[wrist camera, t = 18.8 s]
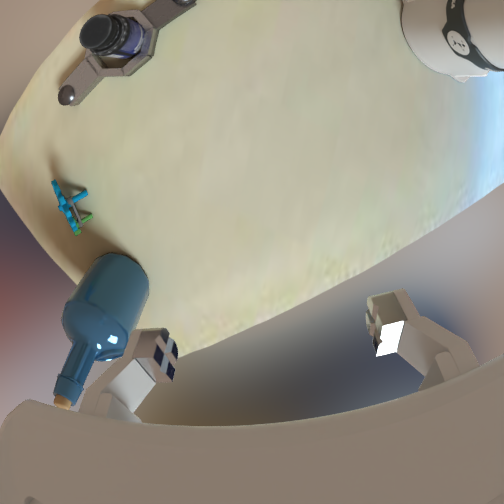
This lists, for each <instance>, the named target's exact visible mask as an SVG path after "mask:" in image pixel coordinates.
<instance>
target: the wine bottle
mask: <svg viewBox="0 0 504 504" xmlns="http://www.w3.org/2000/svg"><path fill="white" fill-rule="evenodd" d="M148 296H149V280H148V277H147V276H146V274H145V273H144V271H143V269H142V268H141V266H140V265H139V264H137V263H136V262H134V261H133V260H132V259H130V258H129V257H127V256H125V255H120V254H115V253H109V254H107V255H104V256H101V257H99V258H96V260H95V261H94V262H93V264H92V265H91V267H90V268H89V269H88V271H87V272H86V274H85V275H84V277H83V278H82V279H81V281H80V282H79V284H78V285H77V287H76V288H75V290H74V291H73V293H72V294H71V296H70V297H69V299H68V301H67V302H66V304H65V307H64V309H63V312H62V316H61V321H62V325H63V328H64V331H65V333H66V336H67V338H68V339H69V340H70V341H71V342H72V348H71V349H70V352H69V354H68V357H67V359H66V362H65V364H64V366H63V368H62V371H61V374H58V376H57V381H56V385H55V388H54V392H53V394H54V396H55V399H54V404H55V405H56V406H57V407H58V408H62V409H66V410H69V409H70V406H74V405H75V404H76V402H77V400H78V398H79V396H80V394H81V392H82V391H83V390H84V389H83V385H84V383H85V380H86V378H87V376H88V373H89V371H90V369H91V367H92V365H93V363H94V361H108V360H112V359H115V358H118V357H122V356H123V354H124V351H125V348H126V346H127V343H128V340H129V338H130V335H131V332H132V331H133V330H134V329H136V326H137V324H138V321H139V319H140V316H141V313H142V311H143V308H144V306H145V303H146V301H147V299H148Z"/></svg>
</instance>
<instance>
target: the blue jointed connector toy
mask: <svg viewBox="0 0 504 504" xmlns="http://www.w3.org/2000/svg"><path fill="white" fill-rule="evenodd" d="M51 182H52V186H53V189H54V191H55V194H56V196H57V199H58V201H59V206H58V208H59V210H60V211H63V213H64V214H65V216H66V218H67V220H68V222H69V224H70V226H71V228H72V230H73V232H74V234H75V236H77V235H78V234H80V233H82V232H81V230H80V228H81V227H82V226H83V223H84V222H86V221H88V220H89V219H91V218H92V217H93V216H92V214H90V215H88V216H87V217H85V218H83V219H82V220H81V219H80V217H79V215H78V212H77V210H76V208H75V205H74V203H75V202H77V201H78V200H80V199H82V198H84V197H85V196H87V195H88V193H87V191H86V190H85V191H83V192H81V193H79V194H78V195H76V196H74V197H72V198H71V197H69V198H67V199H66V200H65V199H64V196H62V194H61V190H60V188H59V186H58V184H57V182H56V180H53V181H51ZM70 207H72V208H73V210H74V212H75V215H76V217H77V222H76V220H75V218H74V216H73V217H72V214H71V212H70V210H69V208H70ZM79 227H80V228H79Z"/></svg>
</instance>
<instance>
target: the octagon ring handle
mask: <svg viewBox="0 0 504 504" xmlns="http://www.w3.org/2000/svg"><path fill="white" fill-rule="evenodd" d="M195 1H196V0H156V1H155V2H154V3H152V4H151V5H150V6H148V7H147V8H146V9H144V10H143V11H142V12H141V11H140V10H127V11H117V12H112V13H110V14H119V15H122V16H124V17H126V18H128V19H130V20H137V21H138V22H139V24H140V25H141V26H142V27H143V28H144V29H145V34H144V39H143V43H142V48H141V52H140V53H139V54H138V55H137V56H135V57H134V58H133V59H132V60H131V61H130V62H128V63H127V64H126V65H125V66H124V67H123V68H110V69H109V68H108V67H107V66H106V64H105V63H104V62H103V61H102V59H101V58H100V57H99V55H96V54H94V53H92V52H91V51H90V49H87V48H86V54H85V59H84V60H83V61H82V62H81V63H80V64H79V65H78V66H77V68H76V69H75V70H74V71H73V72H72V73H71V74H70V76H69V77H68V78H67V79H66V80H65V81H64V83H63V84H62V85H61V86H60V88H59V90H60V91H59V93H58V101H59V103H60V104H61V105H70V106H75V105H79V104H80V103H81V102H82V101H83V99H84V98H85V97H86V96H87V95H88V94H89V93H90V92H91V91H92V90H93V89H94V88H95V87H96V85H97V84H98V83H99V82H100V81H101V80H102V79H103V78H104V77H108V76H131V75H132V74H133V73H135V72H136V71H137V70H138V69H139V68H140V67H142V66H143V65H144V64H145V63H146V62H148V61H149V60H150V59H151V58H152V56H154V51H155V46H156V42H157V38H158V33H159V30H160V29H161V28H163V27H164V26H166V25H167V24H168V23H170V22H171V21H173V20H174V19H175V18H177V17H178V16H180V15H181V14H183V13H184V12H186V11H188V10H189V9H191V8H192V7H194V6H195V5H197V4H196V3H195Z"/></svg>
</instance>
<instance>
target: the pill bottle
mask: <svg viewBox="0 0 504 504" xmlns="http://www.w3.org/2000/svg"><path fill="white" fill-rule="evenodd" d="M144 34H145V29H144V28H143V27H142V26H141V25H140V24H139V23H137V22H135V21H133V20H130V19H128V18H126V17H124V16H122V15H119V14H109V15H104V14H100V15H96V16H94V17H92V18H90V19H89V20H88V21H87V22H86V23H85V24H84V25H83V27H82V29H81V32H80V36H79V38H80V43H81V45H82V46H83V47H85V48H87V49H90V51H91V52H92V53H94V54H96V55H99V56H107V57H114V58H121V59H129V58H132V57H135V56H137V55H138V54H139V53H140V52H141V48H142V43H143V39H144Z"/></svg>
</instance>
